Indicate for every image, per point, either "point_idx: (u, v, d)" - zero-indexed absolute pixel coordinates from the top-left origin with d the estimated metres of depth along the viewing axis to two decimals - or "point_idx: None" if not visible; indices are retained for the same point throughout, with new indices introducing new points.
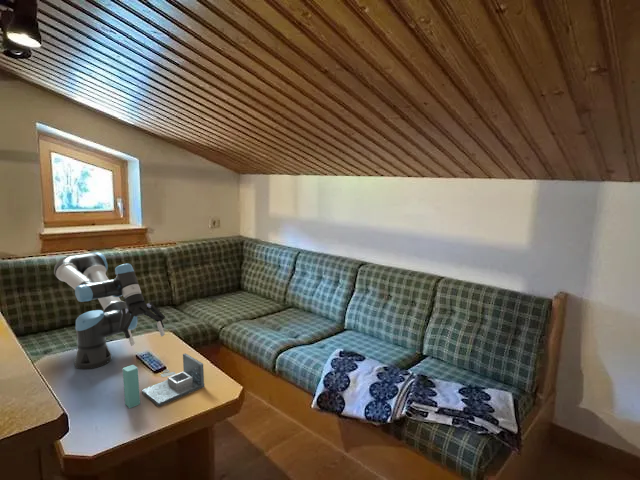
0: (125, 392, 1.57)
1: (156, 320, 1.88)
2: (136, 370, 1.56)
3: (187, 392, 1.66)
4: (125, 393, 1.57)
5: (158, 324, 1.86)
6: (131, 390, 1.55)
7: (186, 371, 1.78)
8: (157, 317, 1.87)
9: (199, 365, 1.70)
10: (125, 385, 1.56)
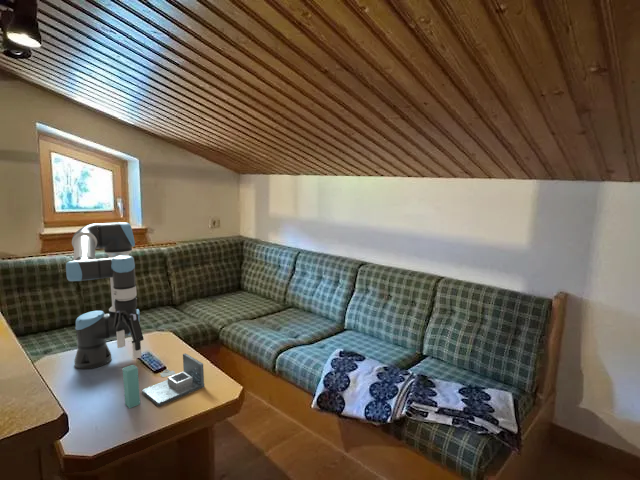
0: (125, 392, 1.57)
1: None
2: (136, 370, 1.56)
3: (187, 392, 1.66)
4: (125, 393, 1.57)
5: None
6: (130, 390, 1.55)
7: (186, 371, 1.78)
8: (132, 336, 1.48)
9: (199, 365, 1.70)
10: (125, 385, 1.56)
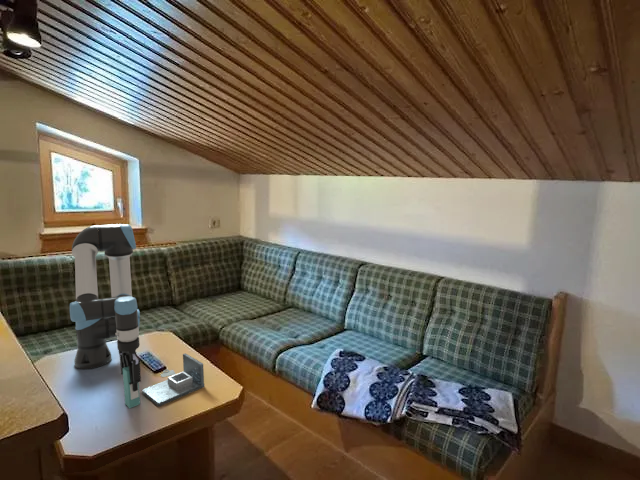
0: (125, 392, 1.57)
1: None
2: None
3: (187, 392, 1.66)
4: (125, 393, 1.57)
5: None
6: None
7: (186, 371, 1.78)
8: (130, 378, 1.54)
9: (199, 365, 1.70)
10: (125, 385, 1.56)
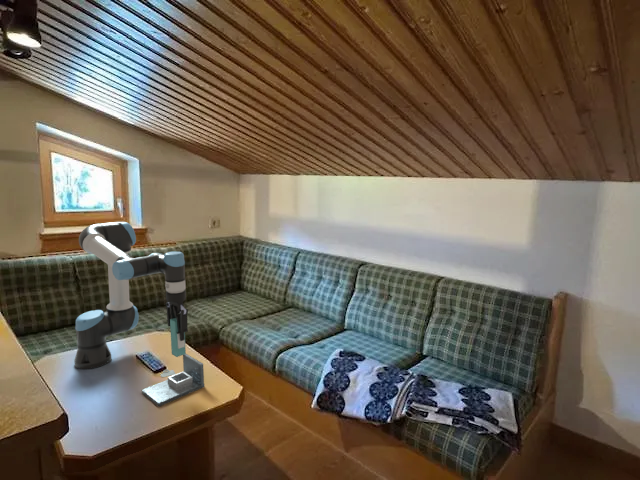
0: (172, 342, 1.67)
1: None
2: None
3: (187, 392, 1.66)
4: (172, 343, 1.67)
5: None
6: None
7: (186, 371, 1.78)
8: (178, 327, 1.64)
9: (199, 365, 1.70)
10: (172, 336, 1.66)
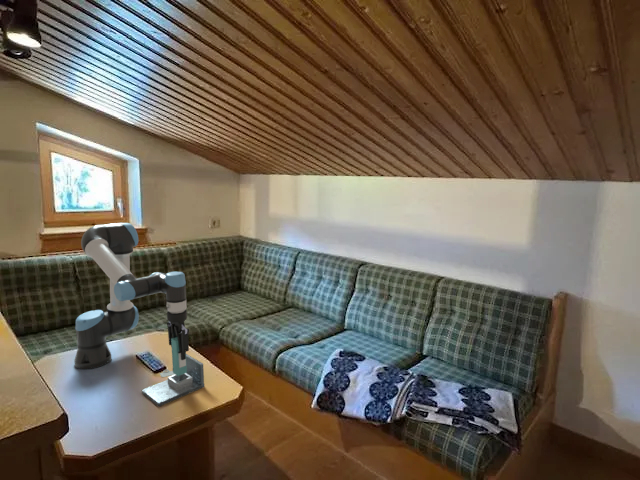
0: (173, 361, 1.68)
1: None
2: None
3: (187, 392, 1.66)
4: (173, 362, 1.68)
5: None
6: None
7: None
8: (179, 347, 1.65)
9: (199, 365, 1.70)
10: (173, 355, 1.68)
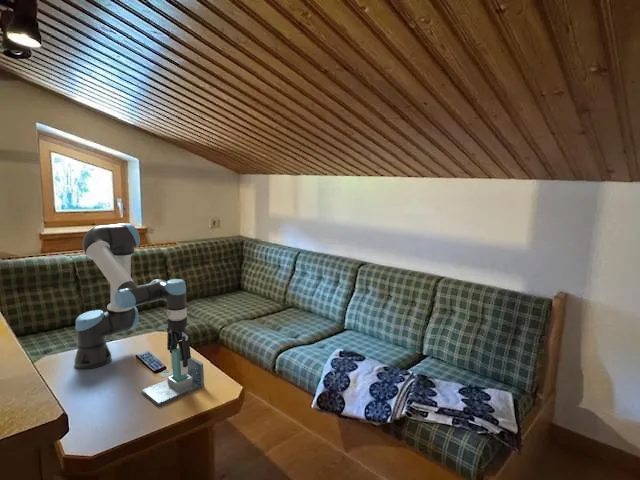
0: (173, 373, 1.69)
1: None
2: None
3: (187, 392, 1.66)
4: (174, 373, 1.69)
5: None
6: (179, 370, 1.68)
7: None
8: (181, 354, 1.65)
9: (199, 365, 1.70)
10: (174, 366, 1.68)
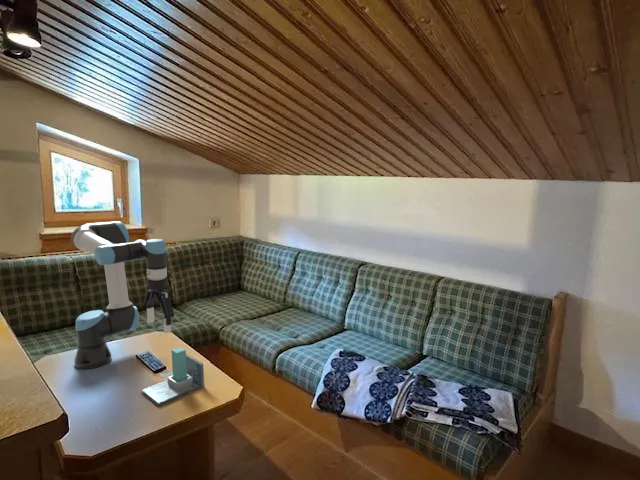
0: (173, 373, 1.69)
1: None
2: (184, 352, 1.68)
3: (187, 392, 1.66)
4: (174, 373, 1.69)
5: None
6: (179, 370, 1.68)
7: None
8: (163, 312, 1.62)
9: (199, 365, 1.70)
10: (173, 366, 1.69)
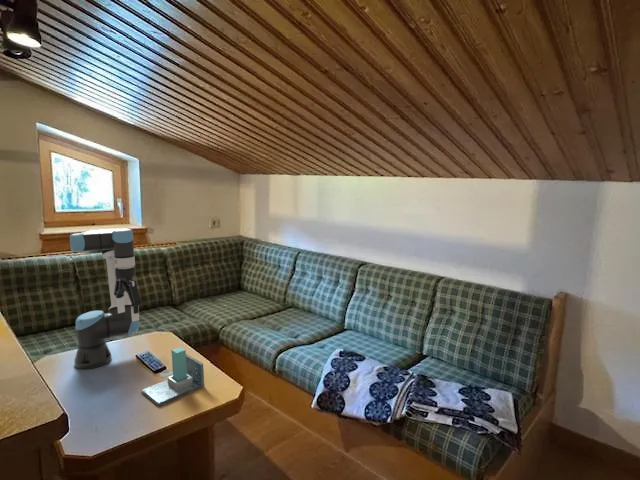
0: (173, 373, 1.69)
1: None
2: (184, 352, 1.68)
3: (187, 392, 1.66)
4: (174, 373, 1.69)
5: None
6: (179, 370, 1.68)
7: None
8: (131, 301, 1.65)
9: (199, 365, 1.70)
10: (173, 366, 1.69)
